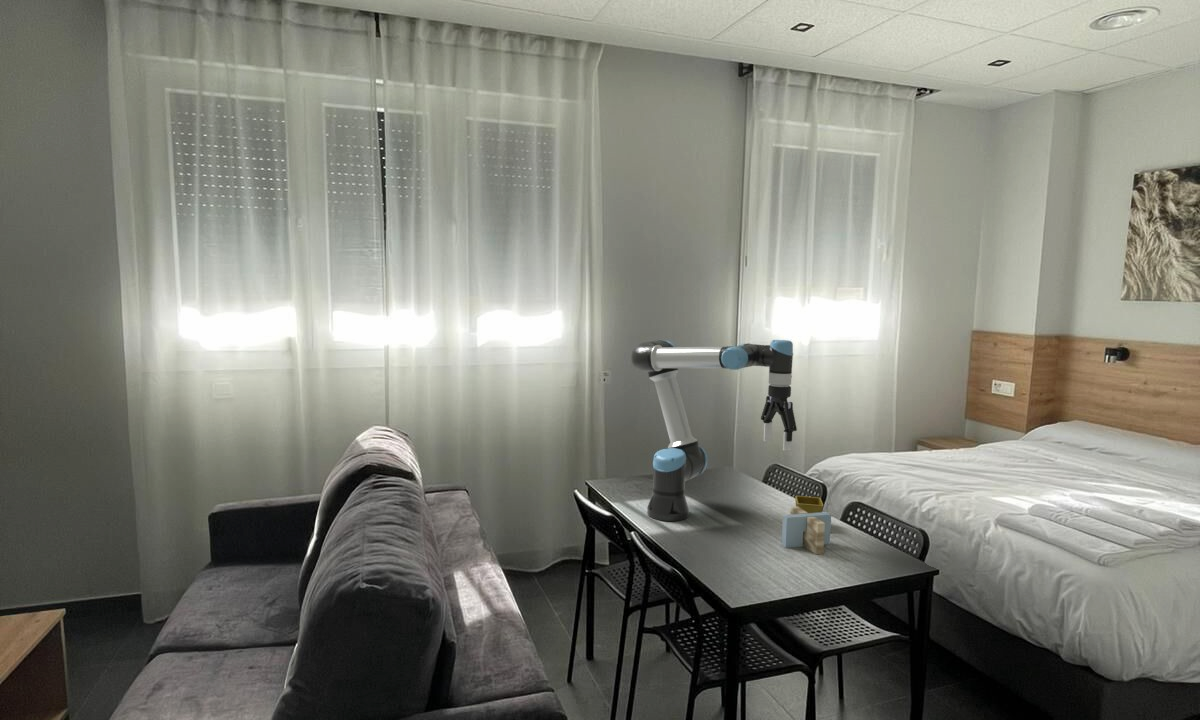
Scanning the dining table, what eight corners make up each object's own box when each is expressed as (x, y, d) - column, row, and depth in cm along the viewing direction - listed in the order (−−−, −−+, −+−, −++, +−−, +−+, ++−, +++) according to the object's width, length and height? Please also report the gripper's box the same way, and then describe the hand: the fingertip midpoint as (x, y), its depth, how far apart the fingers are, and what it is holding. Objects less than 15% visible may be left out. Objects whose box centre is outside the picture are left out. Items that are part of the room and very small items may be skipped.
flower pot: (822, 530, 225) (823, 505, 224) (796, 528, 227) (797, 503, 226) (819, 521, 234) (820, 497, 233) (793, 519, 235) (795, 495, 235)
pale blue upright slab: (785, 547, 209) (787, 517, 208) (781, 544, 211) (783, 515, 210) (829, 544, 213) (831, 514, 212) (825, 541, 215) (826, 511, 214)
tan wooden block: (823, 554, 205) (825, 523, 204) (816, 554, 204) (817, 523, 203) (796, 535, 220) (797, 506, 219) (789, 535, 219) (791, 507, 218)
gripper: (809, 390, 212) (806, 454, 214) (771, 379, 236) (769, 437, 239) (788, 390, 210) (785, 455, 213) (752, 380, 234) (750, 438, 237)
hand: (776, 445), depth 226 cm, fingers open, 13 cm apart
